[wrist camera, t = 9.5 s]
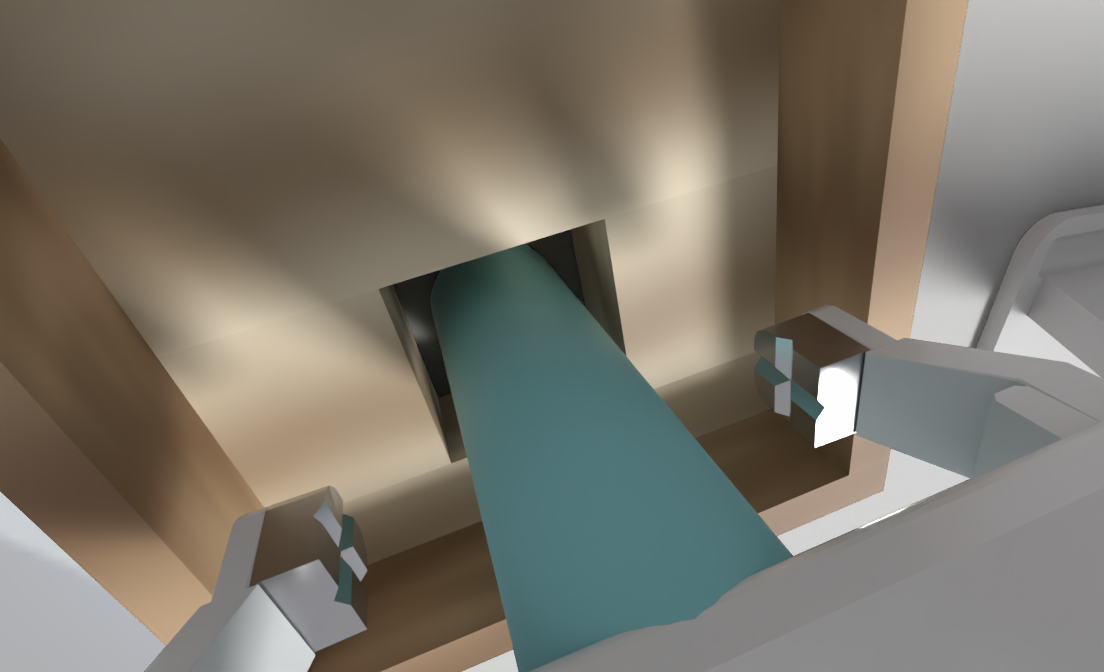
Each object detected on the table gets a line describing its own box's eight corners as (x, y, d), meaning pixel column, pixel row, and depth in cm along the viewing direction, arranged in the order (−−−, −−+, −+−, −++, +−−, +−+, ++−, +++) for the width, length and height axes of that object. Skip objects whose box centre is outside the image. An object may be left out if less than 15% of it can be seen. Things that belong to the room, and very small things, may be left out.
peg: (412, 261, 14) (530, 829, 4) (542, 221, 14) (946, 625, 4) (453, 371, 16) (605, 951, 6) (567, 333, 16) (890, 797, 6)
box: (-127, -82, 9) (-804, -258, 4) (740, -238, 11) (1050, -474, 6) (304, 541, 17) (277, 750, 12) (749, 375, 19) (883, 490, 14)
